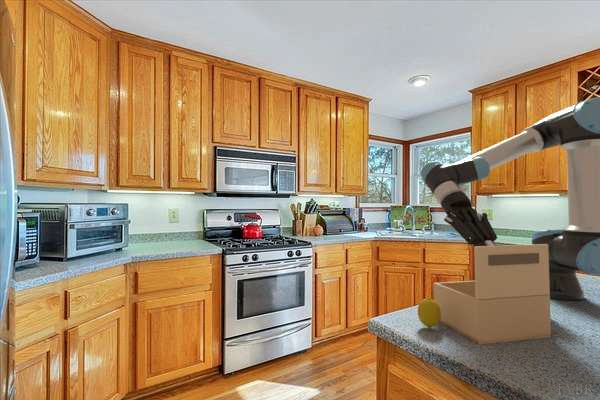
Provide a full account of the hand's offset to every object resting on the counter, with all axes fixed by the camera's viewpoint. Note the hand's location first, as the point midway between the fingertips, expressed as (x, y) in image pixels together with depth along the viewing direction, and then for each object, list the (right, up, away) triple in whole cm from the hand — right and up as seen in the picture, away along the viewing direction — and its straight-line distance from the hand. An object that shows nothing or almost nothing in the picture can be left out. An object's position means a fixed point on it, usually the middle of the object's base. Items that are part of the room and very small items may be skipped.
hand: (500, 264), depth 72 cm
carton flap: (+1, -7, -4) cm, 8 cm away
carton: (-1, -17, +4) cm, 18 cm away
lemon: (-16, -18, +3) cm, 24 cm away
